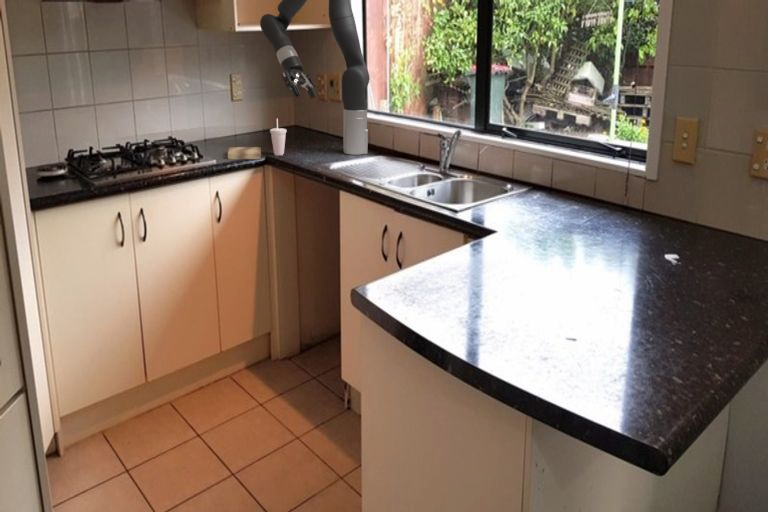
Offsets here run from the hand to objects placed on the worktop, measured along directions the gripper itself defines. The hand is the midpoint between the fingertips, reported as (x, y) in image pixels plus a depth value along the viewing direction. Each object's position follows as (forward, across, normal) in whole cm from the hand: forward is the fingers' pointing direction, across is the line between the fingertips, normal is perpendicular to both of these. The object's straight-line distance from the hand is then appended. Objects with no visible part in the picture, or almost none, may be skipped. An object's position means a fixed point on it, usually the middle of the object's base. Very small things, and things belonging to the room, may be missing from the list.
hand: (306, 97), depth 269 cm
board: (+9, -14, +28) cm, 33 cm away
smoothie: (+13, -3, +21) cm, 25 cm away
